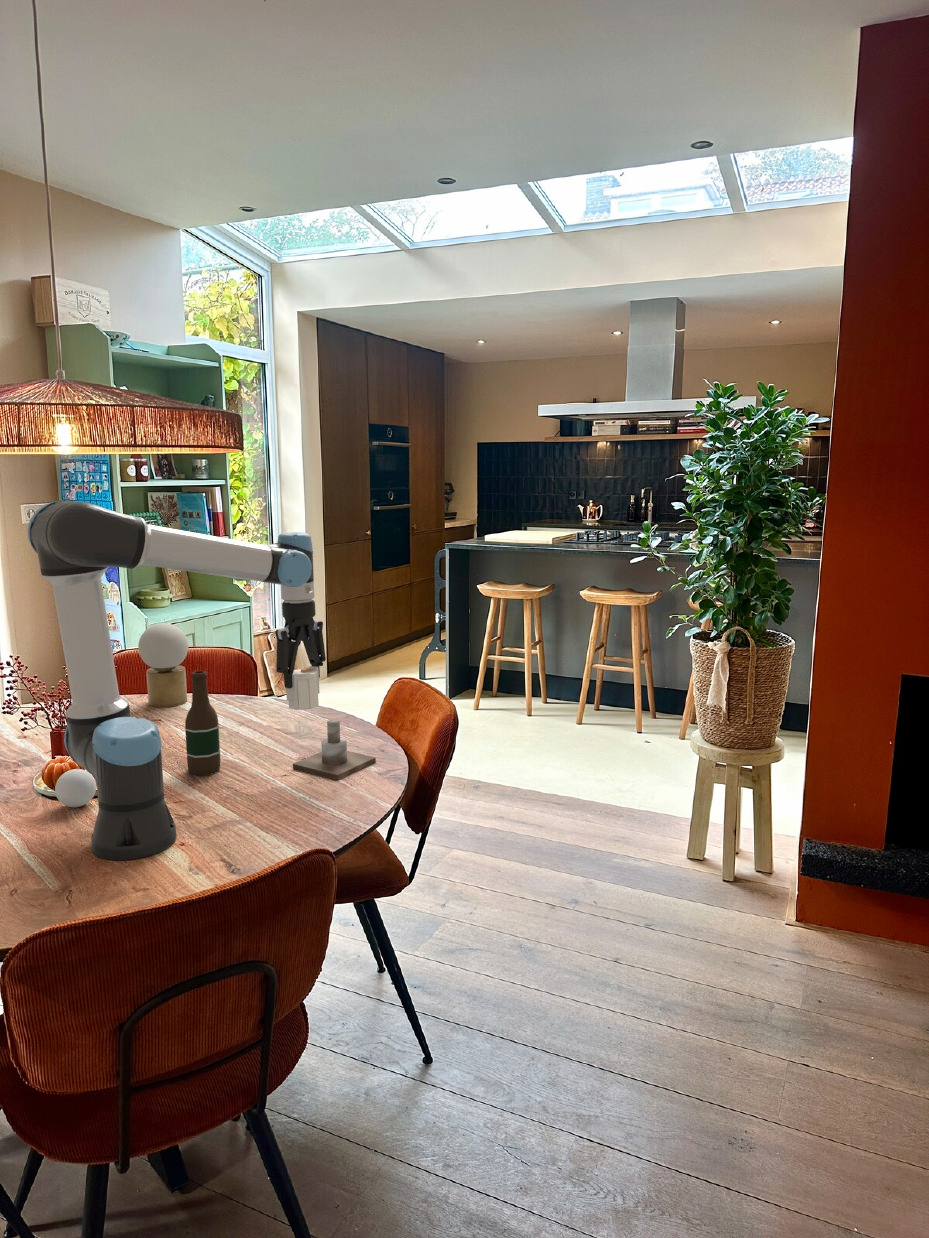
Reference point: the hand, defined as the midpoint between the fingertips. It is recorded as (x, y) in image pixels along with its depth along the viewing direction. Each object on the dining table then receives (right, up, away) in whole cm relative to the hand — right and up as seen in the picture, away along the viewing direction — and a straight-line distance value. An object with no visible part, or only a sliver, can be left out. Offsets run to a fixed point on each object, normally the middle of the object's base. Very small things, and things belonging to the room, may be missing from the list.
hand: (303, 696), depth 198 cm
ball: (-45, -22, -18) cm, 53 cm away
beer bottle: (-24, -18, +2) cm, 30 cm away
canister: (0, -2, 0) cm, 2 cm away
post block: (+7, -17, +5) cm, 19 cm away
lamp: (-53, -8, +59) cm, 79 cm away
